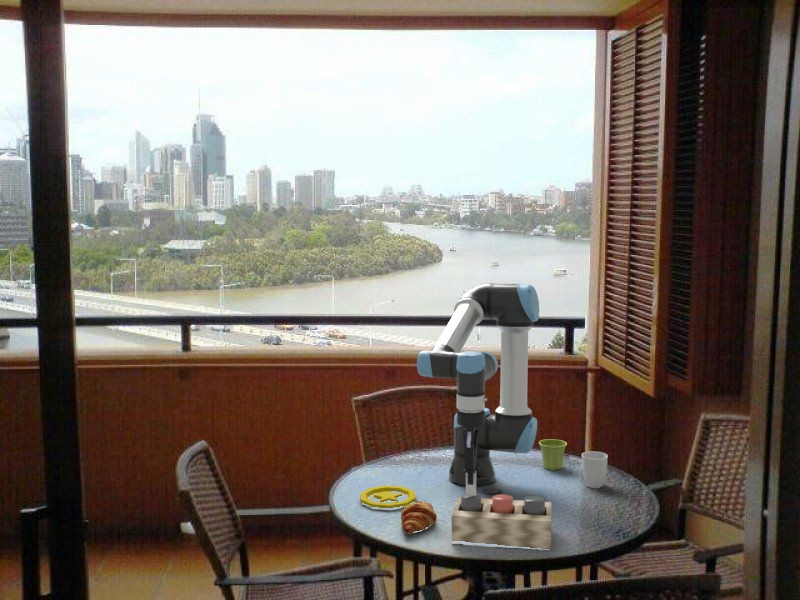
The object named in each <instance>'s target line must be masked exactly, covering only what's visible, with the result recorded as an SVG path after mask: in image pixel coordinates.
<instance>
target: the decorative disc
mask: <svg viewBox="0 0 800 600" xmlns="http://www.w3.org/2000/svg"><path fill="white" fill-rule="evenodd" d="M391 491H397V492H401V493H404V494H403V495H406V494H407V495H408V499H406V500H404V501H401V502H398V500H397V499H396V498H397V497H399V496H402V494H397V493H395V494H390V493H394V492H391ZM389 492H390V493H389ZM374 493H377V494H374ZM381 493H382V494H381ZM370 495H374V496H372V497H375V498H376V499H381V500H380V503H377V502H374V501H371V500H369V499H368V497H370ZM371 499H374V498H371ZM387 500H391V501H397V502H395V503H381V502H384V501H387ZM414 501H416V502H417V496H416V492H415V490H413V489H410V488H408V487H405V486H400V485H398V486H397V485H380V486H374V487H369V488H368V489H366V490H364V491H362V492H360V503H361V502H362V503H364V504H367V505H369V506H371V507H379V508H393V507H400V506H406V505H409V504H410V503H412V502H414Z"/></svg>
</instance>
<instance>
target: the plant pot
mask: <svg viewBox="0 0 800 600" xmlns="http://www.w3.org/2000/svg"><path fill="white" fill-rule="evenodd" d="M538 444H539V446H540V449H541V456H542V465H543V468H544V469H547V470H550V471H551V470H553V471H557V470H560V469H562V468H563V461H564V455H565V450H566V448H567V445H568V443H567V442H566V441H564V440H561V439H551V438H548V439H542V440H539V442H538Z"/></svg>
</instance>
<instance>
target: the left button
mask: <svg viewBox="0 0 800 600" xmlns="http://www.w3.org/2000/svg"><path fill="white" fill-rule="evenodd" d="M460 497H461V511H473V512H481V498H482V495H481V494H479V493H477V492H476V496H470V495H466V492H465V493H463V494H461V495H460Z"/></svg>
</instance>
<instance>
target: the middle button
mask: <svg viewBox="0 0 800 600" xmlns="http://www.w3.org/2000/svg"><path fill="white" fill-rule="evenodd" d="M491 499H492V513H507V514H513V500H514V497H513V496H511V495H509V494H495V495H493V496H492V498H491Z"/></svg>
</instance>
